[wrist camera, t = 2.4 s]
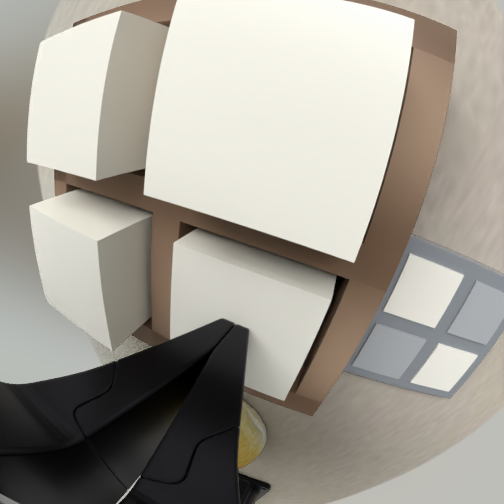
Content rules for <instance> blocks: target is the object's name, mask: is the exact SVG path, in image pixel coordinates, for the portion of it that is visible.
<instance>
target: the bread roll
mask: <svg viewBox="0 0 504 504" xmlns="http://www.w3.org/2000/svg"><path fill="white" fill-rule="evenodd" d="M265 443H266V428H265V425H264V423H263V421H262V420H261V418H260V416H259V415H258V413H257V412H256V411H255V410H254V409H253V408H252V407H251V406H250V405H249V404H248V403H246V402H245V401H244V400H243V404H242V414H241V425H240V436H239V450H238V469H239V468H242V467H244V466H246V465H248V464H249V463H251V462H252V461H253V460H254V459H255V458H256V457H257V456H258V455H259V454H260V453H261V451H262V450H263V448H264V446H265Z"/></svg>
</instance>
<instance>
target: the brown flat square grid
mask: <svg viewBox="0 0 504 504" xmlns="http://www.w3.org/2000/svg"><path fill="white" fill-rule="evenodd" d="M344 1H349V2H354V3H359V4H363V5H367V6H371V7H375V8H379V9H383V10H386V11H390V12H393V13H396V14H399V15H403V16H406V17H409V18H411V19H414V20H415V21H414V31H413V39H412V47H411V54H410V61H409V67H408V73H407V79H406V85H405V90H404V95H403V100H402V105H401V110H400V114H399V119H398V123H397V127H396V132H395V136H394V140H393V144H392V148H391V151H390V155H389V159H388V162H387V166H386V170H385V173H384V176H383V180H382V183H381V187H380V190H379V193H378V196H377V199H376V203H375V206H374V209H373V212H372V215H371V218H370V221H369V224H368V227H367V229H366V232H365V235H364V238H363V241H362V243H361V246H360V249H359V251H358V254H357V257H356V259H355V262H354V263H353V262H350V261H347V260H344V259H341V258H338V257H335V256H333V255H330V254H327V253H324V252H321V251H318V250H315V249H312V248H309V247H306V246H303V245H300V244H297V243H294V242H291V241H288V240H285V239H282V238H279V237H276V236H273V235H270V234H267V233H264V232H261V231H258V230H255V229H252V228H249V227H246V226H243V225H240V224H236V223H233V222H230V221H227V220H224V219H221V218H218V217H214V216H211V215H208V214H205V213H202V212H199V211H195V210H192V209H189V208H186V207H182V206H179V205H176V204H173V203H169V202H166V201H163V200H159V199H156V198H153V197H150V196H146V195H144V182H145V169H146V168H145V169H140V170H136V171H132V172H128V173H124V174H120V175H116V176H112V177H108V178H104V179H101V180H97V181H95V180H91V179H88V178H84V177H81V176H77V175H74V174H70V173H66V172H63V171H59V170H55V169H54V178H55V197H56V196H59V195H62V194H65V193H68V192H71V191H74V190H77V189H81V188H82V189H85V190H88V191H91V192H94V193H97V194H100V195H103V196H106V197H109V198H112V199H115V200H118V201H121V202H124V203H127V204H130V205H133V206H136V207H139V208H142V209H145V210H148V211H151V212H153V217H152V240H151V312H152V316H151V317H150V318H149V319H148V320H147V321H146V322H145V323H144V324H142V325H141V326H140V327H139V328H138V329H137V330H136V331H135V332H133V333H132V334H131V335H133V336H134V337H136V338H138V339H140V340H141V341H143V342H145V343H147V344H148V345H150V346H152V347H153V346H156V345H158V344H161V343H163V342H166V341H168V340H170V307H171V278H172V259H173V244H174V242H175V241H177V240H179V239H180V238H182V237H184V236H185V235H187V234H189V233H190V232H192V231H194V230H195V229H197V228H201V229H204V230H207V231H210V232H213V233H216V234H219V235H222V236H225V237H228V238H231V239H234V240H237V241H240V242H243V243H245V244H248V245H251V246H254V247H257V248H260V249H263V250H266V251H269V252H272V253H275V254H278V255H280V256H283V257H286V258H289V259H292V260H295V261H298V262H301V263H304V264H307V265H309V266H312V267H315V268H318V269H321V270H324V271H327V272H330V273H333V274H335V275H338V276H341V278H340V280H339V283H338V285H337V288H336V290H335V293H334V295H333V298H332V300H331V303H330V305H329V307H328V310H327V312H326V314H325V317H324V319H323V321H322V324H321V326H320V328H319V330H318V333H317V335H316V337H315V339H314V341H313V344H312V346H311V348H310V350H309V352H308V354H307V356H306V358H305V361H304V363H303V365H302V367H301V369H300V371H299V373H298V375H297V377H296V379H295V381H294V383H293V385H292V387H291V389H290V391H289V392H288V394H287V396H286V398H285V400H284V401H283V400H280V399H277V398H274V397H272V396H269V395H266V394H264V393H261V392H259V391H256V390H254V389H251V388H249V387H246V386H244V391H245V392H247V393H249V394H252V395H254V396H257V397H259V398H262V399H265V400H267V401H270V402H273V403H275V404H278V405H281V406H284V407H286V408H289V409H292V410H295V411H298V412H301V413H304V414H307V415H310V416H313V414H314V413H315V411H316V410H317V409H318V407H319V406H320V404H321V403H322V401H323V400H324V398H325V397H326V396H327V394H328V393H329V391H330V390H331V388H332V387H333V385H334V384H335V382H336V380H337V379H338V377H339V376H340V374H341V373H342V371H343V369H344V368H345V366H346V365H347V363H348V361H349V360H350V358H351V356H352V355H353V353H354V351H355V349H356V348H357V346H358V344H359V343H360V341H361V339H362V337H363V335H364V334H365V332H366V330H367V328H368V326H369V325H370V323H371V321H372V319H373V317H374V315H375V313H376V311H377V309H378V307H379V305H380V303H381V301H382V299H383V297H384V295H385V293H386V291H387V289H388V287H389V285H390V283H391V280H392V278H393V276H394V274H395V272H396V269H397V267H398V265H399V263H400V260H401V258H402V256H403V253H404V251H405V248H406V246H407V244H408V241H409V239H410V236H411V233H412V231H413V228H414V226H415V223H416V220H417V217H418V215H419V212H420V209H421V206H422V203H423V200H424V197H425V194H426V191H427V188H428V185H429V182H430V178H431V175H432V172H433V168H434V165H435V161H436V157H437V153H438V150H439V146H440V142H441V137H442V133H443V129H444V124H445V119H446V114H447V109H448V104H449V98H450V92H451V86H452V79H453V71H454V62H455V52H456V38H457V31H456V30H454V29H452V28H450V27H448V26H446V25H443V24H441V23H439V22H436V21H434V20H431V19H429V18H426V17H424V16H421V15H418V14H415V13H413V12H410V11H407V10H404V9H401V8H397V7H394V6H391V5H387V4H384V3H380V2H376V1H373V0H344ZM176 2H177V0H142V1H138V2H134V3H131V4H127V5H123V6H120V7H117V8H114V9H111V10H108V11H105V12H102V13H99V14H96V15H93V16H91V17H88V18H85V19H83V20H80V21H78V22H76V23H74V24H73V27H75V26H77V25H80V24H82V23H85V22H88V21H90V20H93V19H96V18H99V17H102V16H105V15H108V14H111V13H114V12H118V11H121V10H122V11H125V12H128V13H131V14H134V15H137V16H140V17H143V18H146V19H149V20H151V21H154V22H157V23H159V24H162V25H164V26H167V27H170V23H171V19H172V16H173V12H174V9H175V5H176Z"/></svg>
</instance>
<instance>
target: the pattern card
mask: <svg viewBox="0 0 504 504" xmlns="http://www.w3.org/2000/svg"><path fill="white" fill-rule="evenodd" d="M503 330H504V274H502V273H500V272H498V271H496V270H494V269H492V268H490V267H488V266H485V265H483V264H481V263H479V262H477V261H475V260H472V259H470V258H468V257H466V256H463V255H461V254H459V253H457V252H454V251H452V250H450V249H447V248H445V247H443V246H440V245H438V244H435V243H433V242H430V241H428V240H426V239H423V238H421V237H418V236H416V235H413V234H411V236H410V239H409V241H408V244H407V246H406V248H405V251H404V253H403V256H402V258H401V260H400V263H399V265H398V267H397V269H396V272H395V274H394V276H393V278H392V280H391V283H390V285H389V287H388V289H387V291H386V293H385V295H384V297H383V299H382V301H381V303H380V305H379V307H378V309H377V311H376V313H375V315H374V317H373V319H372V321H371V323H370V325H369V326H368V328H367V330H366V332H365V334H364V335H363V337H362V339H361V341H360V343H359V344H358V346H357V348H356V349H355V351H354V353H353V355H352V356H351V358H350V360H349V361H348V363H347V365H346V366H345V368H344V369H343V371H346V372H349V373H353V374H356V375H359V376H362V377H366V378H369V379H373V380H376V381H380V382H383V383H387V384H391V385H394V386H398V387H402V388H406V389H410V390H414V391H418V392H422V393H426V394H431V395H435V396H439V397H444V398H449V399H450V398H451V397H452V396H453V395H454V393H455V392H456V391H457V390H458V389H459V388H460V387H461V386H462V384H463V383H464V382H465V381H466V380H467V379H468V377H469V376H470V375H471V374H472V373H473V371H474V370H475V369H476V368H477V366H478V365H479V364H480V363H481V361H482V360H483V359H484V357H485V356H486V355H487V353H488V352H489V351H490V349H491V348H492V346H493V345H494V344H495V342H496V341H497V339H498V338H499V336H500V335H501V333H502V332H503Z"/></svg>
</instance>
